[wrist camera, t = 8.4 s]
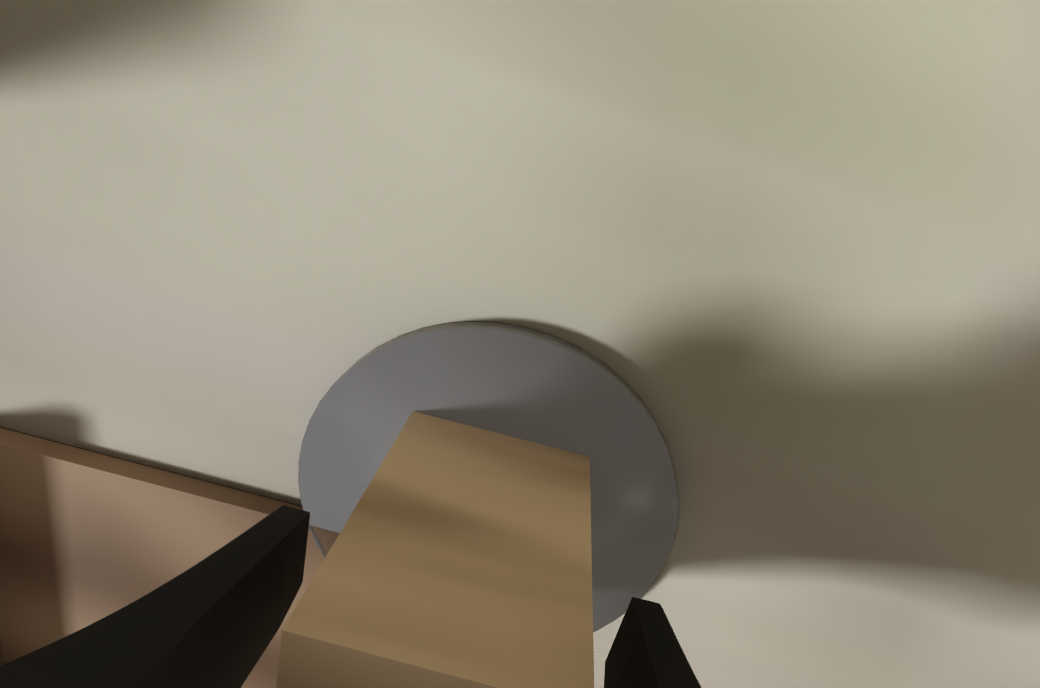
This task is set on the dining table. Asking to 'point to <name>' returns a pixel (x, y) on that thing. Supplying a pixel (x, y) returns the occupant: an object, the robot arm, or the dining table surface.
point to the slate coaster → (509, 411)
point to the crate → (110, 540)
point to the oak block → (454, 571)
